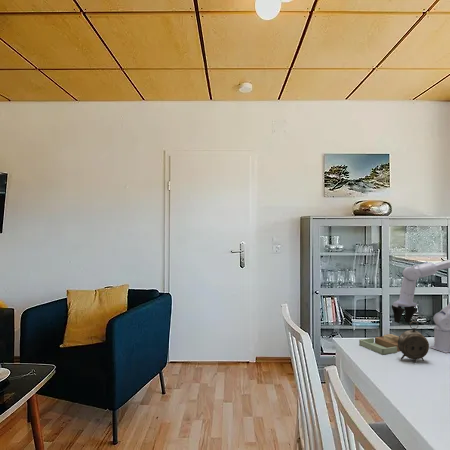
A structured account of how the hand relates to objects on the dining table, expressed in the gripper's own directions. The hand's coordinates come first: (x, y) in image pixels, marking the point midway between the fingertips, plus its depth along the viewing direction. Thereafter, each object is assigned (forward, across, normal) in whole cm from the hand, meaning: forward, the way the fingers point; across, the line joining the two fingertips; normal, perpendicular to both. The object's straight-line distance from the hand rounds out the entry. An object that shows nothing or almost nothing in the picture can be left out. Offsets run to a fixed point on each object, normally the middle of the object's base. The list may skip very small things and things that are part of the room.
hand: (402, 322), depth 171 cm
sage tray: (+12, +12, -1) cm, 18 cm away
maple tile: (+8, +5, 0) cm, 10 cm away
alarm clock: (+11, +13, +16) cm, 23 cm away
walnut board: (+11, +4, 0) cm, 12 cm away
